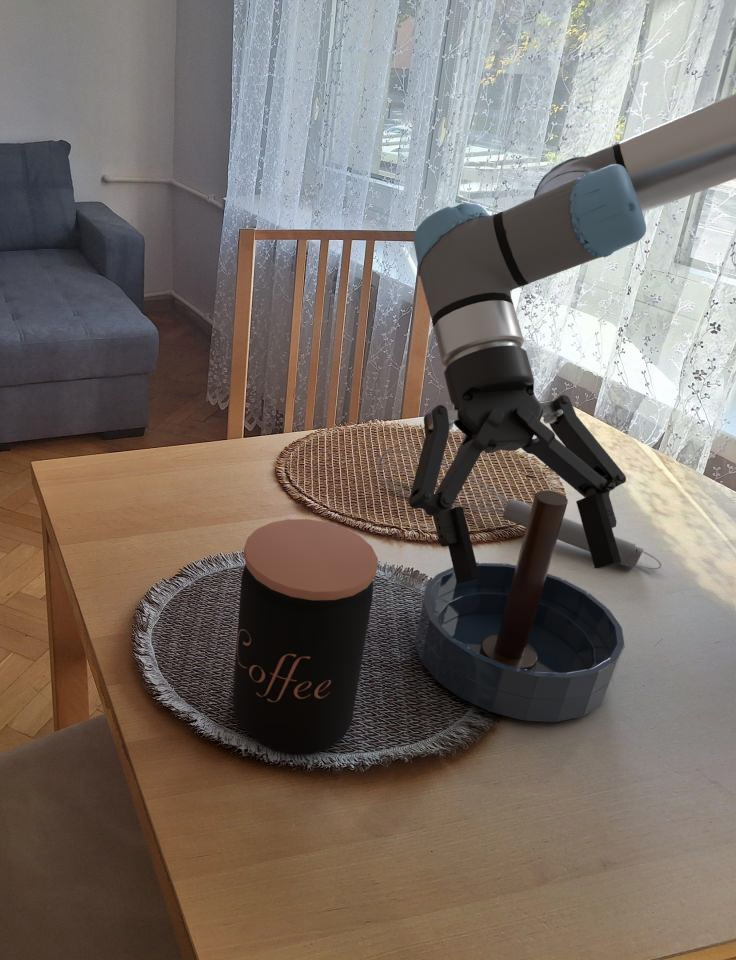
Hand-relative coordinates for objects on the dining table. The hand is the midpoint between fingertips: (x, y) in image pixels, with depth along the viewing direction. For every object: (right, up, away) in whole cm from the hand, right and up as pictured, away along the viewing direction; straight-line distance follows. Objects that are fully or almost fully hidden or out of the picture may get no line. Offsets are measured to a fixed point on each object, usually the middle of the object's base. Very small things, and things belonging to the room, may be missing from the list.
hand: (538, 573), depth 78 cm
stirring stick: (0, -9, +6) cm, 11 cm away
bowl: (0, -9, +6) cm, 11 cm away
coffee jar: (-22, -13, +1) cm, 26 cm away
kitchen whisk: (+10, +3, +29) cm, 31 cm away
